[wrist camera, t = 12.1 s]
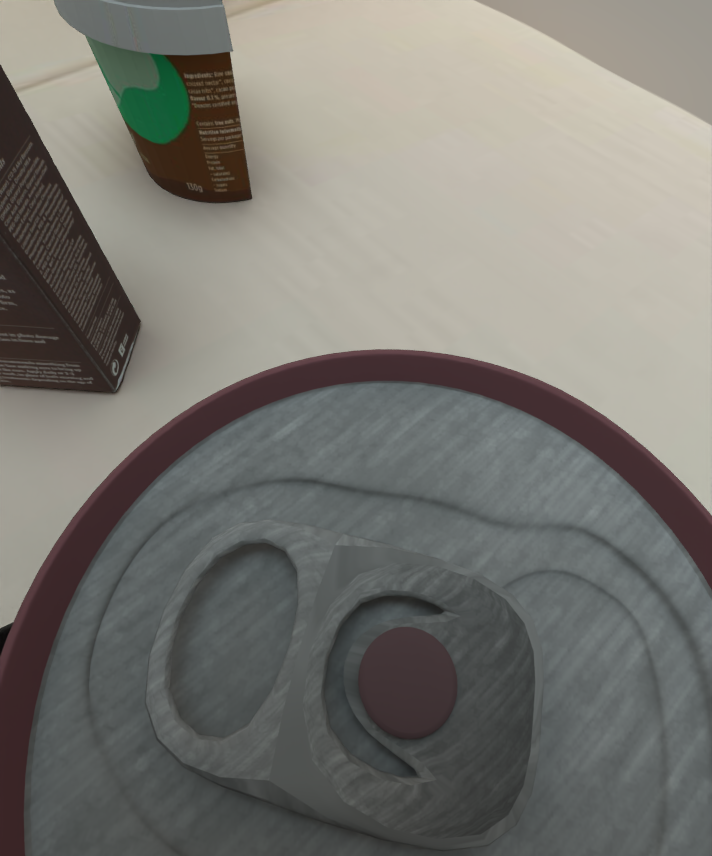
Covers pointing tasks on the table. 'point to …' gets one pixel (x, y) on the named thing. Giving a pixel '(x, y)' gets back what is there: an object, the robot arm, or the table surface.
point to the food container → (171, 89)
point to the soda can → (369, 631)
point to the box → (53, 274)
